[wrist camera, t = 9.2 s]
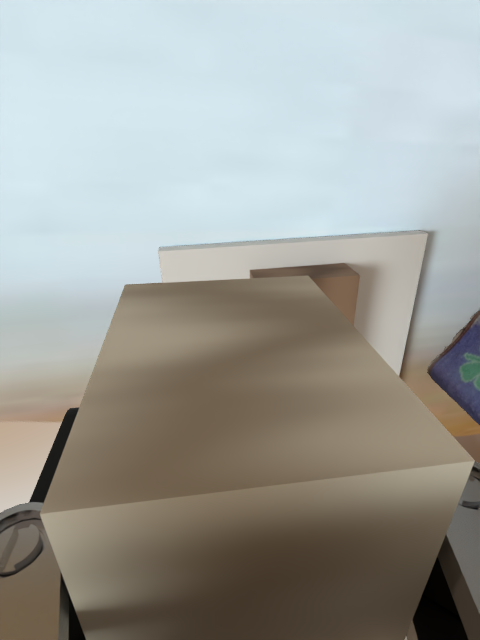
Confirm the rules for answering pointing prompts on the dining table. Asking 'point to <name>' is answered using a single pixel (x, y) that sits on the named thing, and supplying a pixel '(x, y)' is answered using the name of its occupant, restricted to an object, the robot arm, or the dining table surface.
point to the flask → (461, 368)
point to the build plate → (354, 250)
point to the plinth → (324, 283)
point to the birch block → (248, 473)
